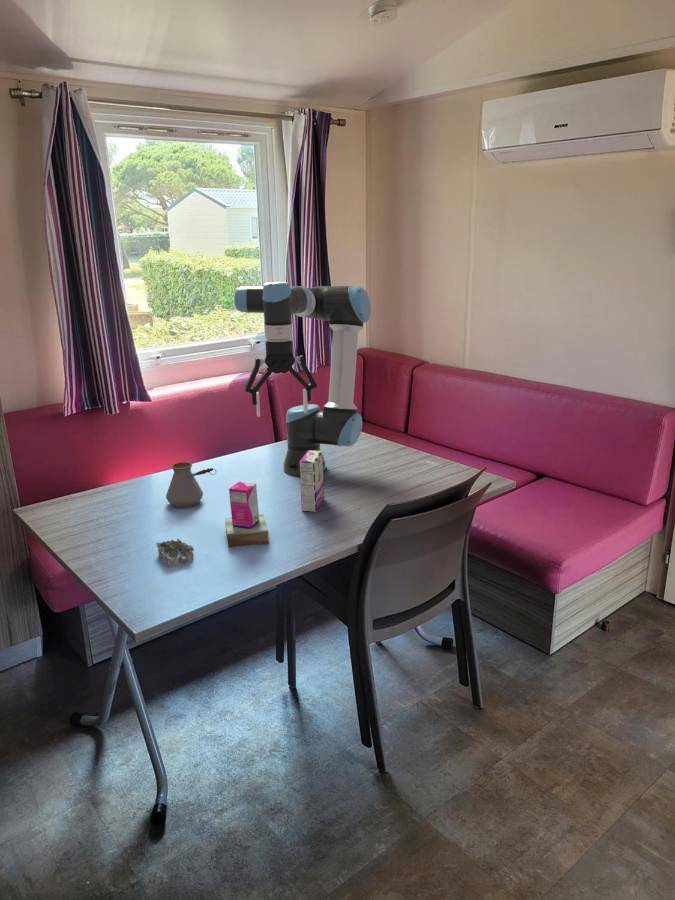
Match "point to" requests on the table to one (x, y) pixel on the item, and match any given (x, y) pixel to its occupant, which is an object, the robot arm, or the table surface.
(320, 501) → the candy bar box
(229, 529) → the block
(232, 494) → the supplement box
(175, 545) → the rocky terrain model
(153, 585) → the table surface
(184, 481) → the coffee pot
